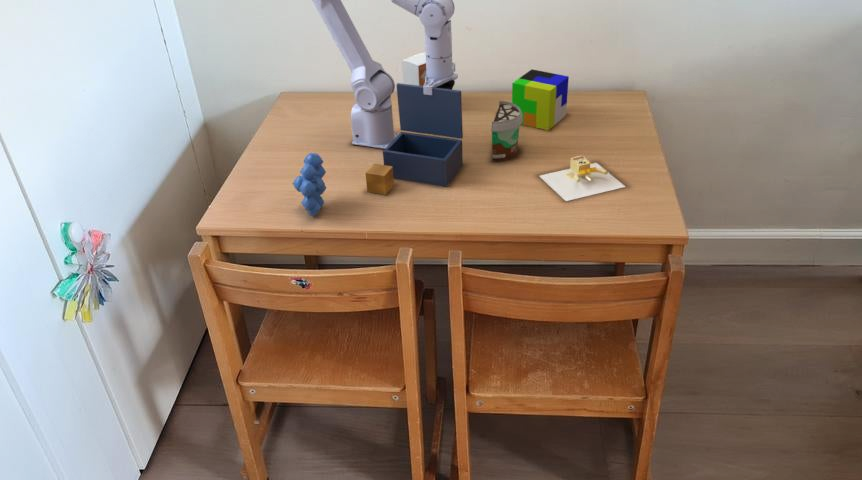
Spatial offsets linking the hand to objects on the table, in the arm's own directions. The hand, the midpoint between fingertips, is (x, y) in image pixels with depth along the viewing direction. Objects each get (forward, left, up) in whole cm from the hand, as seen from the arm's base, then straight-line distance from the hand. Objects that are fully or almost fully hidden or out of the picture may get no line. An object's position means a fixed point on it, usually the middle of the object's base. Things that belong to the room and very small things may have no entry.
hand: (441, 113), depth 172 cm
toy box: (0, -11, -9) cm, 14 cm away
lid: (0, -7, +3) cm, 8 cm away
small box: (-13, +21, -9) cm, 26 cm away
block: (-6, -21, -9) cm, 24 cm away
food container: (+15, +3, -9) cm, 18 cm away
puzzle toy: (+17, +23, -9) cm, 30 cm away
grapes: (-16, -33, -9) cm, 38 cm away
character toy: (+34, -5, -9) cm, 36 cm away
